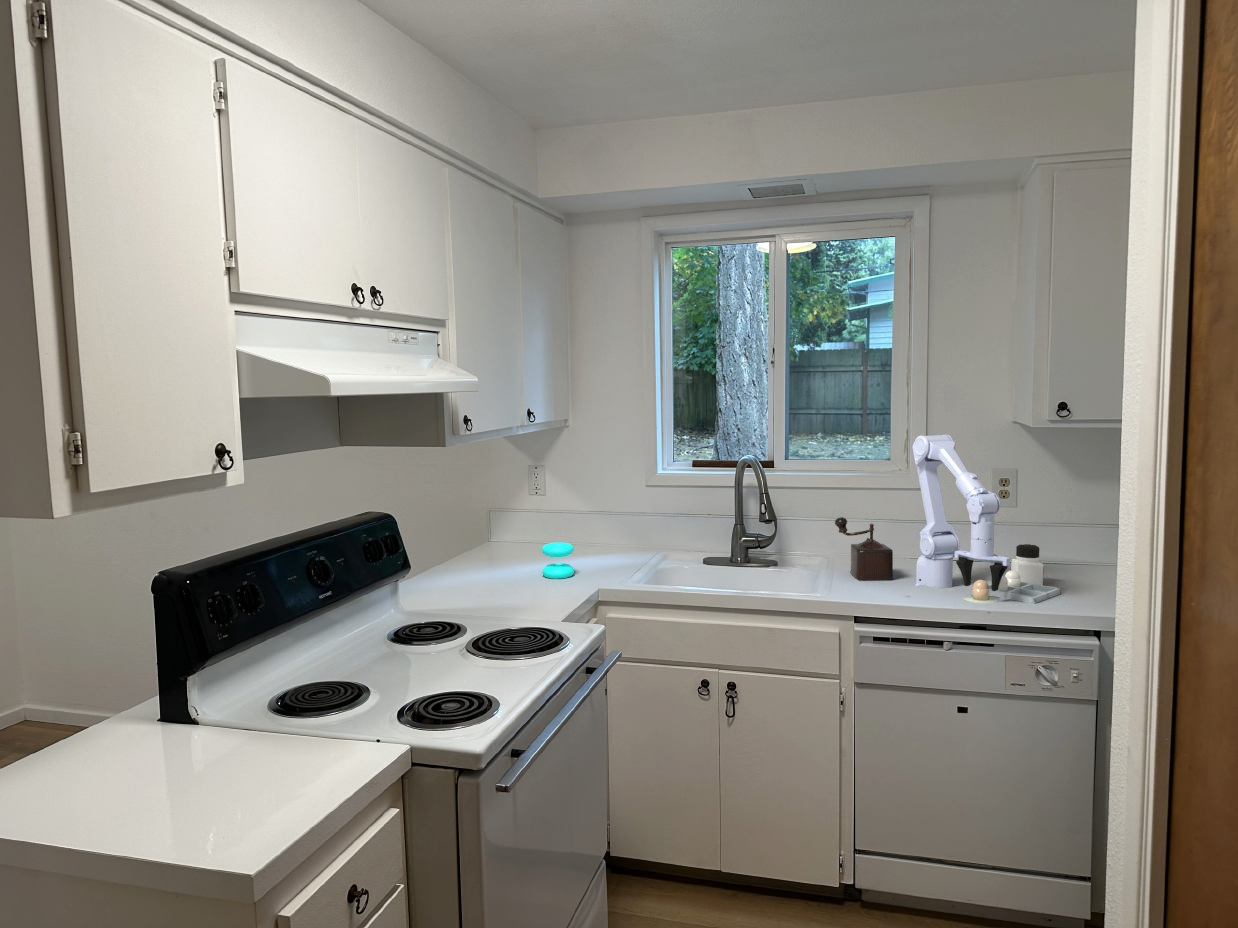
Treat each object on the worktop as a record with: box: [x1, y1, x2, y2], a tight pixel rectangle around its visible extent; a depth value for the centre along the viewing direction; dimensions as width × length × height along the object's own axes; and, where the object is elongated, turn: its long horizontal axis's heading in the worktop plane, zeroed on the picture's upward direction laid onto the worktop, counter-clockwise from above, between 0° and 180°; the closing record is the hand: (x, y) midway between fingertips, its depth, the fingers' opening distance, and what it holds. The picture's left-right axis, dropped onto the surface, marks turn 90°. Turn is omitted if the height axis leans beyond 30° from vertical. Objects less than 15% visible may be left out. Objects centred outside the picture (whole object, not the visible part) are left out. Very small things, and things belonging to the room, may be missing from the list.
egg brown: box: [972, 579, 990, 601], centre depth 234 cm, size 4×4×5 cm
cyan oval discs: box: [541, 542, 575, 580], centre depth 273 cm, size 10×10×10 cm
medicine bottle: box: [1010, 543, 1045, 585], centre depth 250 cm, size 7×7×12 cm
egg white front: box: [997, 574, 1008, 592], centre depth 240 cm, size 4×4×5 cm
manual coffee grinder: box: [834, 516, 894, 582], centre depth 264 cm, size 16×11×18 cm
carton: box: [988, 582, 1062, 604], centre depth 239 cm, size 16×16×2 cm
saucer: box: [962, 594, 1000, 604], centre depth 234 cm, size 9×9×1 cm
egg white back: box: [1004, 570, 1021, 588], centre depth 244 cm, size 4×4×5 cm
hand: (981, 587), depth 234 cm, fingers open, 7 cm apart
